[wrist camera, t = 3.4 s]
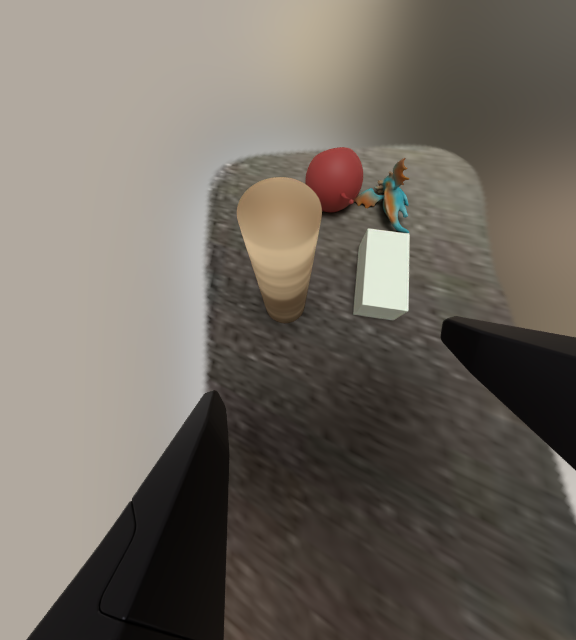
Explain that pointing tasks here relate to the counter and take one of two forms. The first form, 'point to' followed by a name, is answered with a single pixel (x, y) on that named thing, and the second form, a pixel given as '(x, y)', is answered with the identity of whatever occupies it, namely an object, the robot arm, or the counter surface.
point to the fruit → (335, 178)
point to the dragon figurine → (389, 196)
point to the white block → (382, 275)
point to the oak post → (281, 241)
